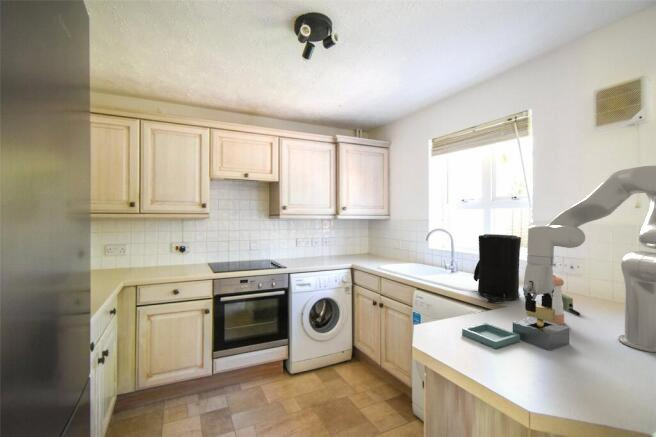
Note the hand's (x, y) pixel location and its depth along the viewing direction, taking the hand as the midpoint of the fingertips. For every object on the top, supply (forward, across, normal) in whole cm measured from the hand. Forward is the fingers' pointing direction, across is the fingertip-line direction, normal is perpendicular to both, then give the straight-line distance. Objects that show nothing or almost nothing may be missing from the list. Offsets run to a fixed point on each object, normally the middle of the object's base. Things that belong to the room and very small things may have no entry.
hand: (538, 309), depth 105 cm
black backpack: (+11, -43, -47) cm, 64 cm away
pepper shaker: (+11, -27, -9) cm, 30 cm away
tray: (+11, +13, -9) cm, 19 cm away
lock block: (+11, -1, 0) cm, 11 cm away
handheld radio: (+11, -51, -17) cm, 55 cm away
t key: (+11, -1, 0) cm, 11 cm away
